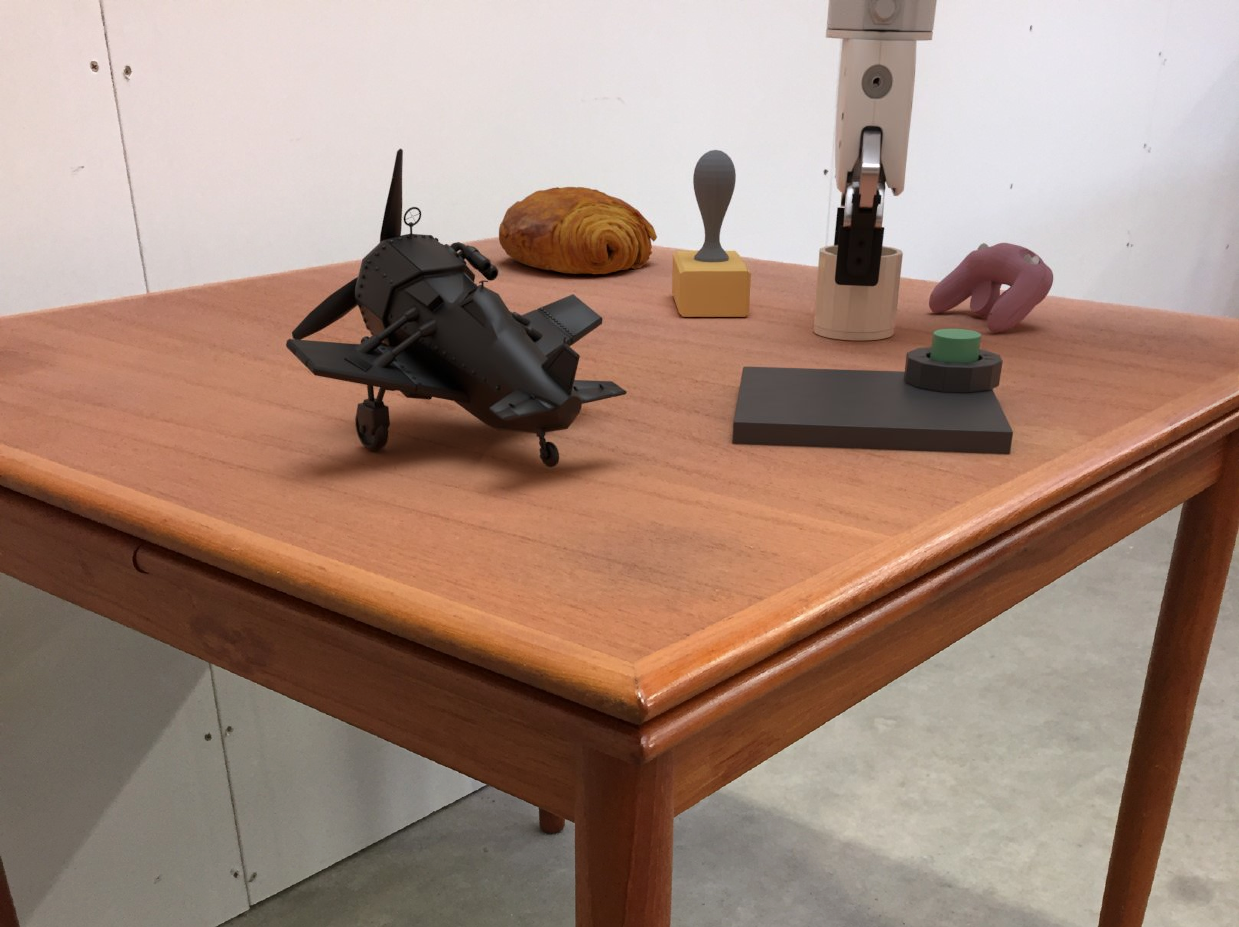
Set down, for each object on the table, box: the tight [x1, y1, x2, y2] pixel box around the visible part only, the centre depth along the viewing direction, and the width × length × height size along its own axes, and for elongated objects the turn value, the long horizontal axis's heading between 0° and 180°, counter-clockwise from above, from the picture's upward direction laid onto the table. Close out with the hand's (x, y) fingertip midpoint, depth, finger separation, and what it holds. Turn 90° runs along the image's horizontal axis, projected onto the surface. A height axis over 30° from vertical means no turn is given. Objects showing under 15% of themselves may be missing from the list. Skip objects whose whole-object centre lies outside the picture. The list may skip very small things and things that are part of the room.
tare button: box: [930, 328, 982, 363], centre depth 85 cm, size 3×3×2 cm
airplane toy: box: [285, 148, 628, 468], centre depth 75 cm, size 20×19×15 cm
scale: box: [731, 346, 1014, 455], centre depth 83 cm, size 16×14×3 cm
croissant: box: [498, 186, 658, 275], centre depth 130 cm, size 14×16×8 cm
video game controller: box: [928, 242, 1054, 334], centre depth 109 cm, size 10×5×7 cm, turn 22°
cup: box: [812, 244, 904, 342], centre depth 104 cm, size 6×6×6 cm
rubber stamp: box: [671, 149, 752, 318], centre depth 112 cm, size 10×6×12 cm, turn 2°
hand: (854, 273), depth 104 cm, fingers open, 9 cm apart
